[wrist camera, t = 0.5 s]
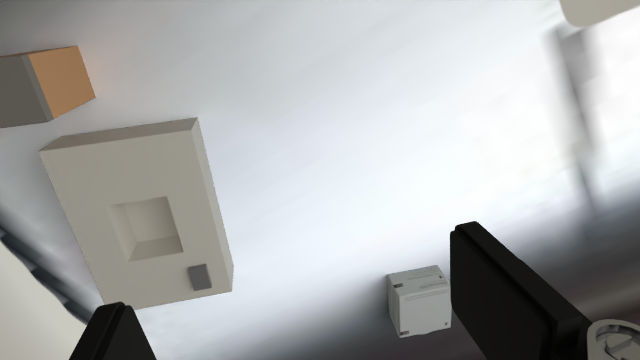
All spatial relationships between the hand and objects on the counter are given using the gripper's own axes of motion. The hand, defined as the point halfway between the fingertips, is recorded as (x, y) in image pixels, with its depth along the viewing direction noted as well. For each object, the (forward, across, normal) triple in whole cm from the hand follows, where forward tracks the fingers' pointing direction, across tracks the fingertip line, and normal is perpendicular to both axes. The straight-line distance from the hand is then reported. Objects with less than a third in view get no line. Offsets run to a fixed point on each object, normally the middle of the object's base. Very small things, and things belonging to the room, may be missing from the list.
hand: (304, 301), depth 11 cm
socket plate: (+34, +15, +11) cm, 38 cm away
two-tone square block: (+33, +19, -6) cm, 39 cm away
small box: (+34, -15, +32) cm, 49 cm away
